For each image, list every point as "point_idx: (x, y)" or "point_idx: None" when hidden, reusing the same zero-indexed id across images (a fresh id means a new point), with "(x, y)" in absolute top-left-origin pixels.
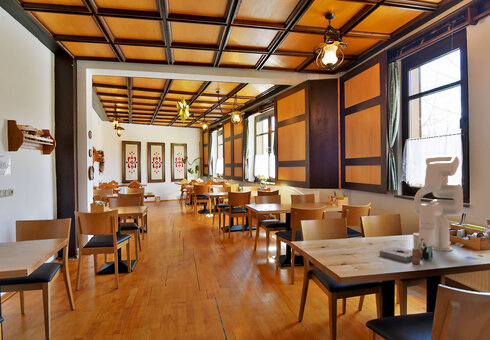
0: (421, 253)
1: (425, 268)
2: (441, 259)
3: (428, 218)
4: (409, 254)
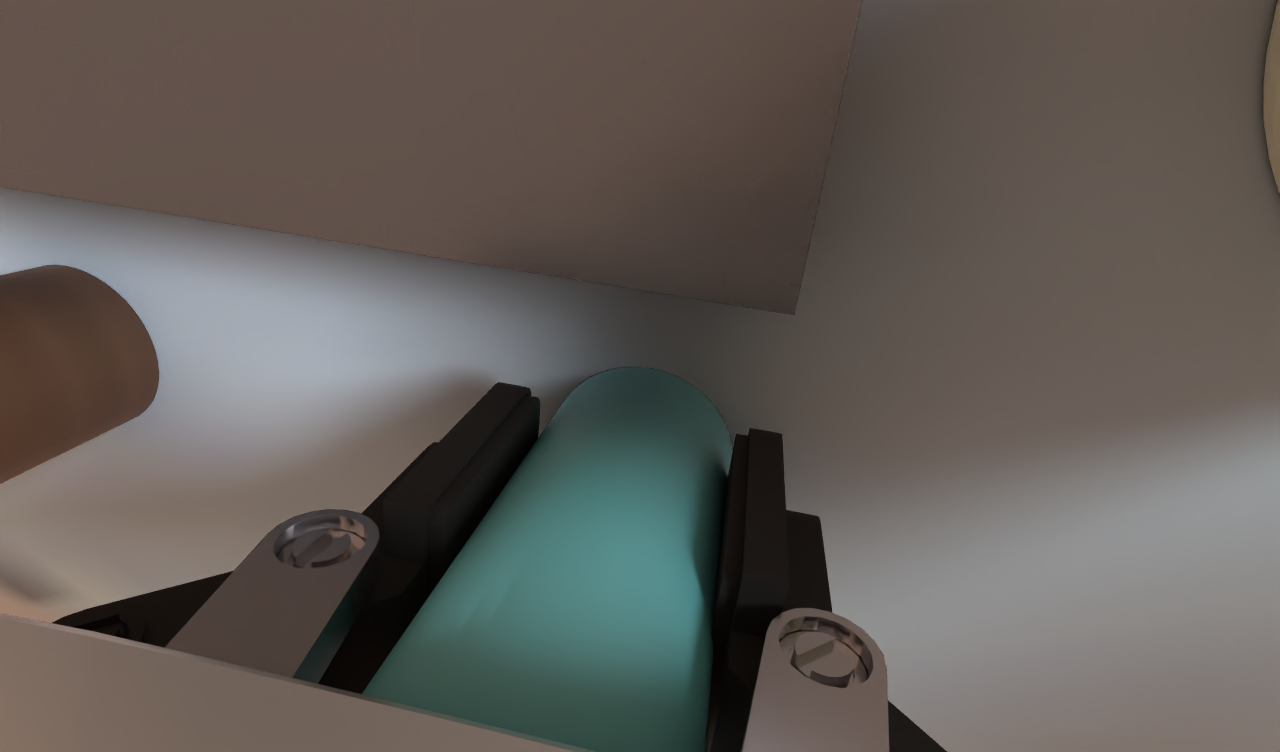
0: (760, 300)
1: (21, 558)
2: (1034, 682)
3: None
4: (84, 46)
